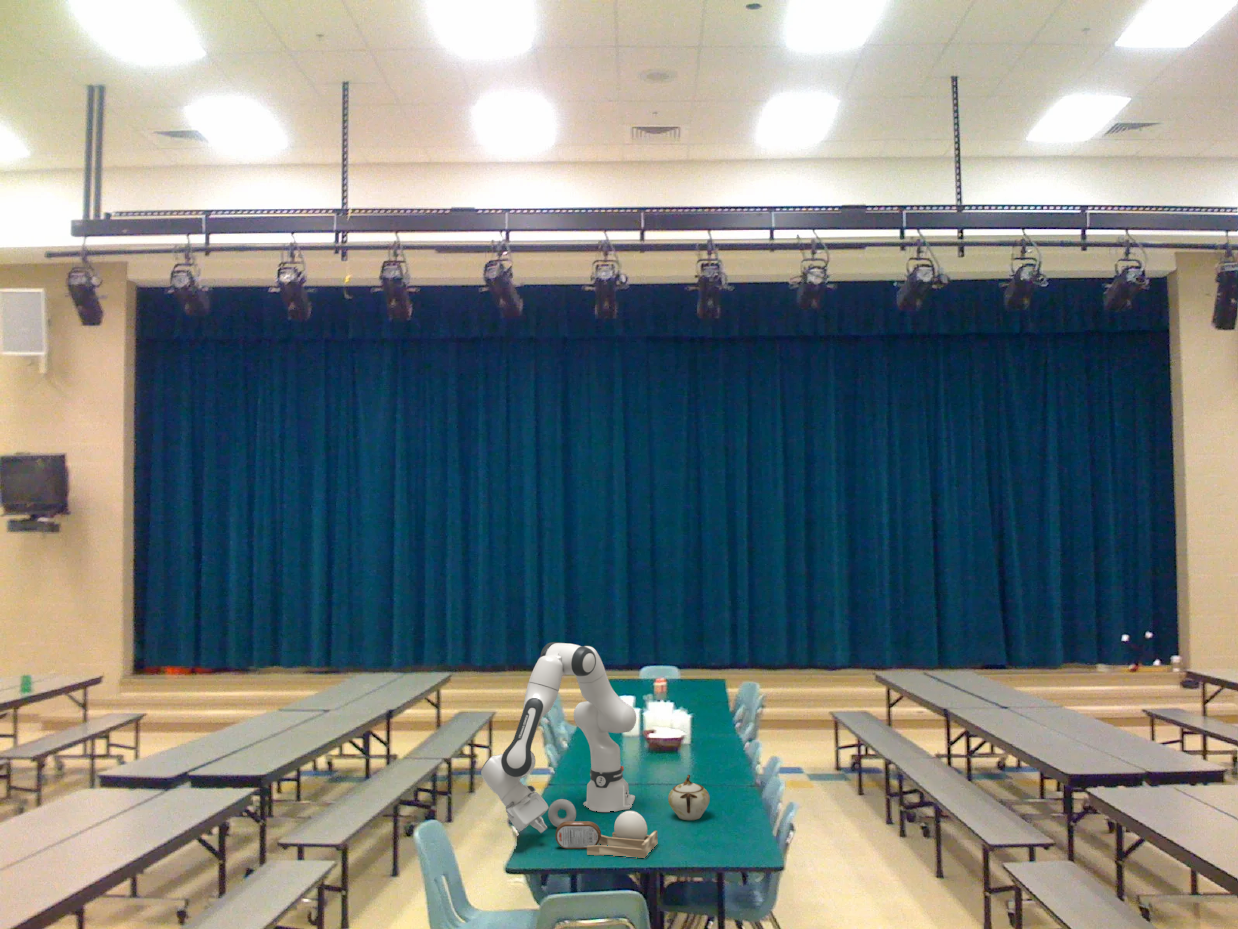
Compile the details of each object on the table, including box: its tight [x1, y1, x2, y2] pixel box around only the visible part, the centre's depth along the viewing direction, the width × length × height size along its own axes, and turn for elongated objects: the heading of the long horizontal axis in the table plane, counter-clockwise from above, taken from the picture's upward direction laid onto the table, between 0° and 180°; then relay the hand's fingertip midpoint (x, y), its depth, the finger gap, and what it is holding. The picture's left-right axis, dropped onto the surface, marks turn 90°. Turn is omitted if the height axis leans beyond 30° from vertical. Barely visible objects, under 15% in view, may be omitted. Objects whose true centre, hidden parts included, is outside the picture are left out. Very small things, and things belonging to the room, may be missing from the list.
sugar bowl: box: [667, 774, 711, 821], centre depth 343 cm, size 20×15×15 cm
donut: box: [547, 798, 577, 828], centre depth 334 cm, size 10×4×10 cm, turn 83°
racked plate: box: [613, 810, 648, 840], centre depth 314 cm, size 2×11×11 cm, turn 71°
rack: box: [586, 830, 659, 859], centre depth 310 cm, size 16×19×4 cm
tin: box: [554, 820, 602, 850], centre depth 313 cm, size 15×3×8 cm, turn 86°
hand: (544, 830), depth 317 cm, fingers closed
